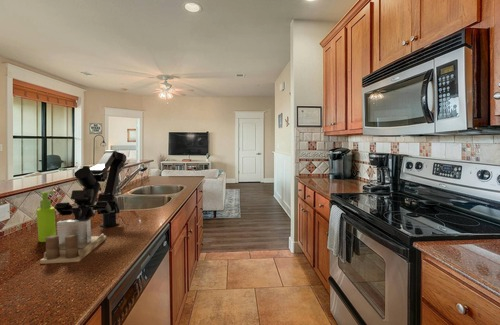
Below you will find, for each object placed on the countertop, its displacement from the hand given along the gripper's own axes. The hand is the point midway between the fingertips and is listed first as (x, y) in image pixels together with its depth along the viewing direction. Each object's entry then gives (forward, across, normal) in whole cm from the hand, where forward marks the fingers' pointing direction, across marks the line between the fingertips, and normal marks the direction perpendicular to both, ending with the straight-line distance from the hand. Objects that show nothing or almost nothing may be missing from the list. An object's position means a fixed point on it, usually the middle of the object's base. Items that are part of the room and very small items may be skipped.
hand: (76, 227), depth 98 cm
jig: (+6, 0, +5) cm, 8 cm away
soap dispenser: (-3, -18, +15) cm, 24 cm away
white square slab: (+6, 0, +4) cm, 7 cm away
